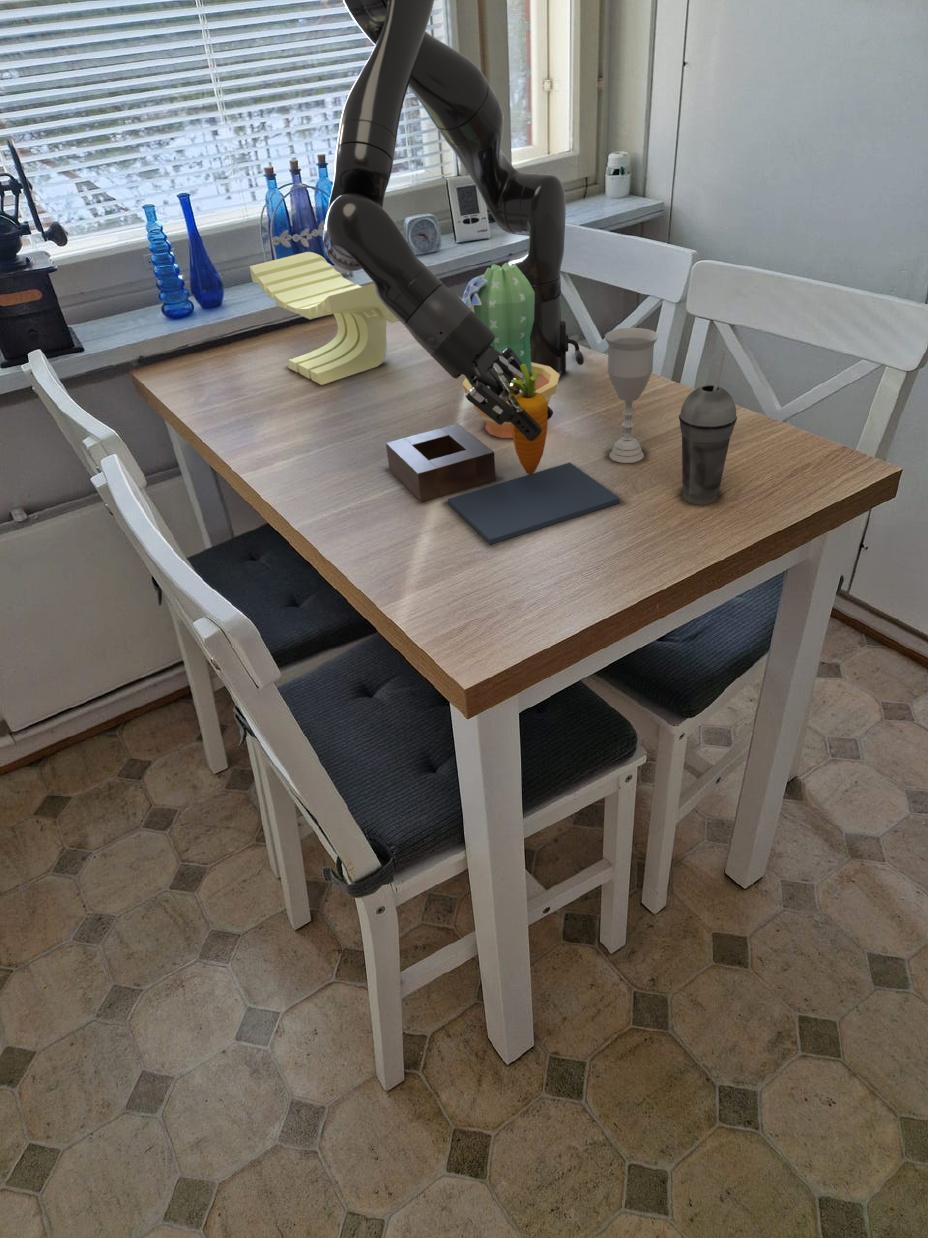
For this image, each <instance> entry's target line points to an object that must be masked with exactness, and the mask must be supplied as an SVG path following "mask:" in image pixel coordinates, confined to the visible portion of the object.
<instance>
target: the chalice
mask: <svg viewBox="0 0 928 1238" xmlns="http://www.w3.org/2000/svg"><path fill="white" fill-rule="evenodd" d="M658 338H659V333H657V331H655V330H652V329H648V328H643V327H622V328H617V329H613V330H609V331H608V332H606V333H605V335H604V340H605V341H606V343H607V345H608V350H607V352H608V353H607V355H608V356H607V373H608V377H609V379H610V383H611V385H612V386H613V389H614V391H615V393H616V395H617V397H618V399H619V400H621V401H623V402H624V409H623V411H622V415H623V417H624V420H623V423H621V427H622V428H623V432H624V433H623V436H621V437H620V438H618V439H617V440H616V441H615V443H613V444H614V445H613V447H612V449H611V451H610V453H609V458H610V459H611V460H612V461H614V462H617V463H622V464H630V463H631V464H632V463H636V462H639V461H641V460H643V458H644V457H645V453H644V452H643V451H642V450H643V449H642V446H641V444H640V442H639V441H638V440H637V439H636V438H635V437H633V436H632V433H631V432H632V429H633V428H634V426H635V424H634V423H633V420H632V418H633V416H634V414H635V412H634V410H633V403H634V402H635V401H637V400H639V399H640V397H641V396H642V393H643V392H644V390H645V388H646V386H647V385H648V383H649V381H650V378H651V375H652V373H653V367H654V348H655V346H654V345H655V343H656V342H657V340H658Z"/></svg>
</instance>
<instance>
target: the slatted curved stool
mask: <svg viewBox="0 0 928 1238" xmlns="http://www.w3.org/2000/svg"><path fill="white" fill-rule="evenodd" d="M249 271H250V275H251V280H252V282H253V283H255V284H258V286H259V290H261V291H263V292H266V294H267V298H269V299H272V300H273V299H274V303H275V306H277V307H280V308H282V309H285V310H287V311H290V312H292V313H294V314H296V315H299V316H300V317H303V318H305V319H308V320H313V319H316V318H321V317H325V316H329V315H333V316H334V318H335V320H336V321H335V322H336V324H337V333H336V335H335V336H334V337H333V339H332V340H330V341H329V342H328V343H327V344H325V345H323V346H321V347H319V348H317V349H315V350H312V351H310V352H308V353H304V354H302V355H299V356H296V357H292V358H290V359H288V369H290V370H292V371H293V372H296V373H299V375H302V376H303V377H305V378H307V379H311V381H312V382H315V383H316V384H319V385H320V386H323V385H326V384H329V383H331V382H335V381H339V380H341V379H344V378H347V377H350V376H353V375H356V374H359V373H362V372H365V371H368V370H371V369H374V368H377V367H379V366H381V364H383V362H384V360H385V358H386V354H387V348H388V347H387V346H388V343H387V322H389V324H395V323H398V322H400V321H399V320H398V319H397V318H396V317H395V316H394V315H393V314H392V312H391V311H390V310H388V309H387V307H386V306H385V305H384V304H383V303H382V302H381V300H380V299H379V298H378V296H377V294H376V289H375V285H374V283H371V284H368V285H364V286H362V285H359V284H356V283H355V282H352V281H351V280H348V279H347V278H345V277H344V276H343V275H342V273H341V272H339V271H337V270H336V269H335V267H334V265H332V264H330V263H329V262H328V261H327V260H326V259H325V257H323V256H322V255H320V254H318V253H316V252H312V251H305V252H302V253H296V254H293V255H289V256H285V257H281V258H277V259H274V260H273V259H272V260H269V261H265V262H261V263H257V264H253V265H249Z"/></svg>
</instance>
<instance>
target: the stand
mask: <svg viewBox="0 0 928 1238" xmlns="http://www.w3.org/2000/svg"><path fill="white" fill-rule="evenodd" d="M385 447H386V455H387V461H388V469H389V471H390V472H391V473H392V475H394V476H395V477H396V479H398V480H399V482H401V483H402V484H403V485H404V487H406V489H408V491H409V492H410V493H411V494H412V495H413V496H414V497H415V498H416V499H417V500H418V501H419V502H420V503H424V502H426V501H430V500H434V499H438V498H440V497H444V496H447V495H451V494H453V493H458V492H460V491H464V490H468V489H470V488H473V487H478V486H480V485H483V484H488V483H491V482H493V481H496V480H497V475H496V460H495V451H493V450H492V449H491V448H490V447H488V446H487V445H486V444H485V443H483V442H482V441H481V440H480V439H478V438H477V437H476V436H475V435H473V434H472V433H471V432H469V431H468V430H467V429H466V428H464V427H463V426H462V425H461V424H460V423H455V424H451V425H447V426H444V427H440V428H436V429H431V430H429V431H424V432H421V433H417V434H414V435H409V436H407V437H403V438H398V439H395V440H391V441H387V442H385Z"/></svg>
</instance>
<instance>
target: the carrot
mask: <svg viewBox="0 0 928 1238" xmlns="http://www.w3.org/2000/svg"><path fill="white" fill-rule="evenodd" d="M520 368H521V371H522V374H523V376H524V379H525V382H526V383H525V382H524V381H523V380H521V379H519V380H516V379H513V380H511V383H512V384H514V385H516V386H518V387H519V388H520V389H521V391H522V392H521V393H519V394H517V395H516V396H514V397H515V399H516V400H517V402H518V403H519V405H520V406H521V408H522V410H523V409H524V410H525V411H526V412H527V413H528V414H529V415H530V416H531V417H532V418H533V419H534V420H535V421H536V422H537V424H538V425H539V426H540V427H541V428H542V432H541V434H540V435H539V436H538V437H537V438H536V439H535V440H533V441H529V440H528V439H527V438H526V437H525V436H524V435H523V434H522V433H521V432H520V431H519V430H518V429H517V428H516V427H515V426H514V425H513V424H512V423H511V431H512V437H513V438H512V441H513V445H514V449H515V453H516V456H517V459H518V460H519V463H520V465H521V466H522V468H523V470H524V472H525V473H526V475H532V474H533V473H536V470H537V468H538V466H539V465H540V463H541V460H542V457H543V455H544V450H545V446H546V439H547V434H548V420H547V415H548V406H549V404H548V405H547V401H546V399H545V398H544V397H543V395H542V394H540V393H537V392H534V390H535V386H536V382H537V371H535V370H533V373H532V376H531V377H530V374H529V371H528V369H527V366H526V364H522V365H521V366H520ZM526 386H527V387H526ZM510 406H511V405H510Z"/></svg>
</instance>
